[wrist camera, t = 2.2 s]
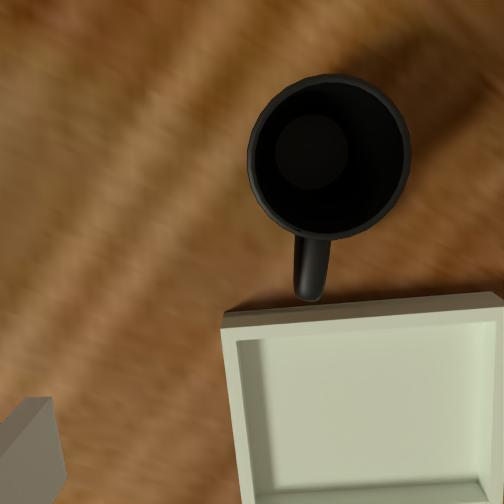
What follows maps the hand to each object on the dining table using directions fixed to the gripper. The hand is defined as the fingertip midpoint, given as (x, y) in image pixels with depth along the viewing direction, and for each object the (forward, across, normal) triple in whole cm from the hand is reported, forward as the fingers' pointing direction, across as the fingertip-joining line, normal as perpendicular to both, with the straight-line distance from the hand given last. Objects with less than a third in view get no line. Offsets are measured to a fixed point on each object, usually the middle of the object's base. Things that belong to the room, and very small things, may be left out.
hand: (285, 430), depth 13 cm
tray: (+22, +6, -13) cm, 26 cm away
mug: (+22, +2, +5) cm, 22 cm away
